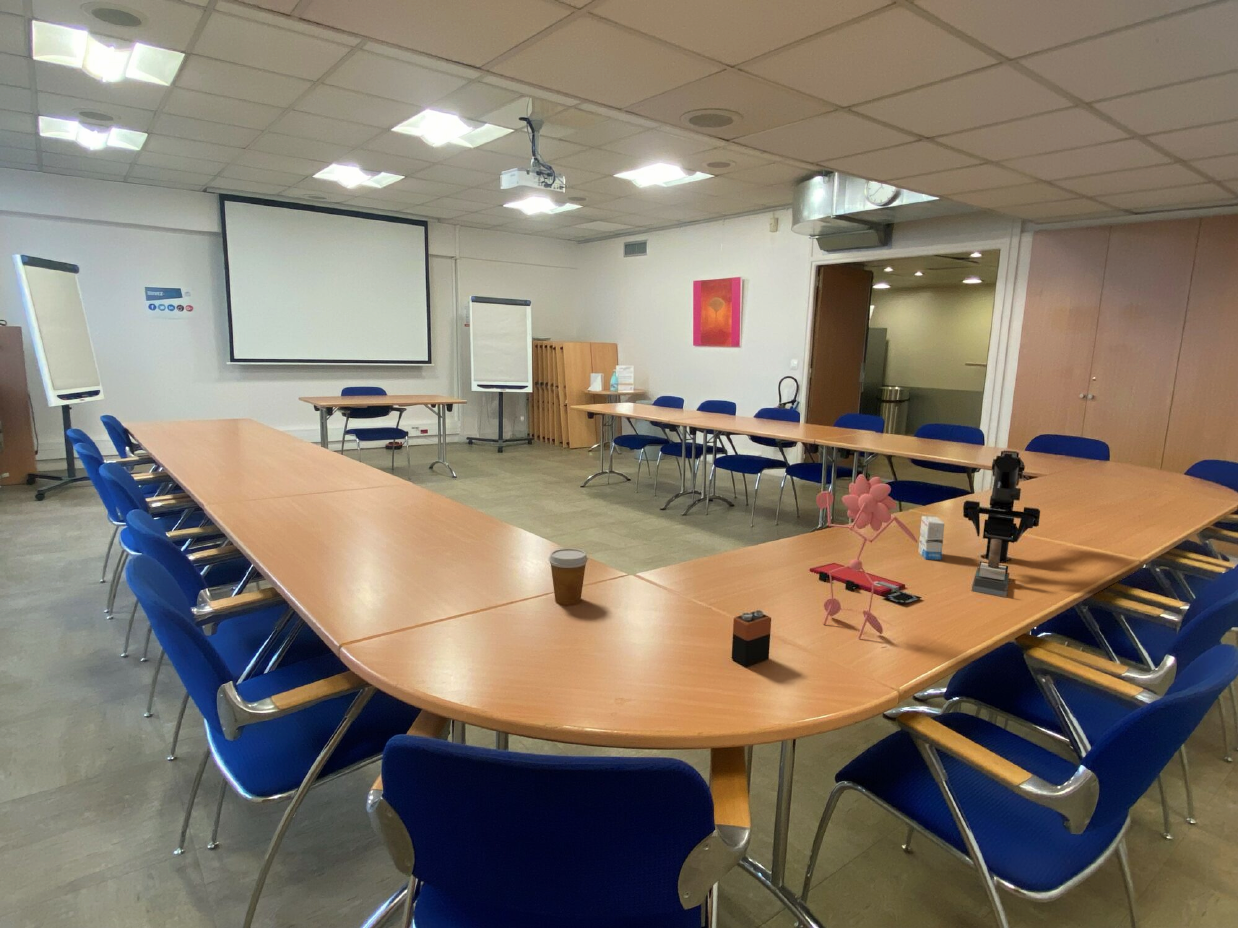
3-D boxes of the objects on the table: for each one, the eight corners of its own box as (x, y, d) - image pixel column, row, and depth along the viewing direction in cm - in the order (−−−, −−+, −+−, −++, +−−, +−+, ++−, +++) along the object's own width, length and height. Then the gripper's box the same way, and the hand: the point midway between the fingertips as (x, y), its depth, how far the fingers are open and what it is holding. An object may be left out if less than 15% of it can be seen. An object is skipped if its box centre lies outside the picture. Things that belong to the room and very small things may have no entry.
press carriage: (980, 570, 184) (984, 536, 182) (1004, 575, 181) (1009, 539, 179) (979, 575, 180) (983, 540, 178) (1004, 580, 177) (1008, 543, 175)
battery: (730, 659, 132) (732, 612, 130) (754, 651, 136) (756, 605, 134) (745, 668, 128) (748, 620, 126) (769, 659, 132) (772, 612, 130)
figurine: (892, 654, 135) (910, 488, 130) (792, 613, 156) (804, 468, 150) (931, 638, 144) (949, 482, 139) (831, 601, 165) (844, 464, 159)
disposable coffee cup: (592, 596, 164) (593, 550, 162) (578, 610, 155) (578, 561, 153) (558, 591, 167) (558, 545, 165) (541, 604, 158) (542, 556, 156)
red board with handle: (899, 608, 160) (931, 597, 169) (900, 597, 160) (932, 587, 168) (800, 575, 184) (833, 567, 193) (801, 565, 184) (834, 558, 193)
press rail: (976, 572, 188) (978, 560, 188) (1008, 577, 184) (1010, 566, 184) (971, 590, 173) (972, 578, 173) (1006, 597, 169) (1007, 584, 169)
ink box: (941, 560, 199) (945, 523, 197) (924, 559, 200) (928, 522, 198) (934, 552, 207) (938, 516, 205) (917, 551, 208) (921, 515, 206)
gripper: (967, 472, 188) (959, 518, 181) (1043, 480, 178) (1038, 528, 171) (967, 494, 196) (959, 538, 189) (1041, 502, 186) (1035, 549, 179)
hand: (997, 538), depth 182 cm, fingers open, 9 cm apart
